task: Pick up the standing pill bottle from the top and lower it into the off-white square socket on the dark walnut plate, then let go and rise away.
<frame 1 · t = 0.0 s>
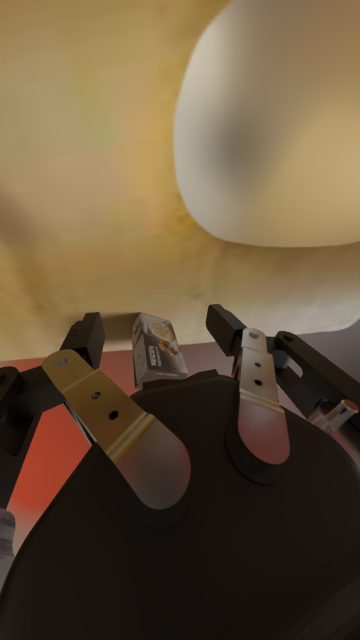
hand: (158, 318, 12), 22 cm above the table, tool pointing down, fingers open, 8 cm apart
coffee box: (151, 325, 42), on the table
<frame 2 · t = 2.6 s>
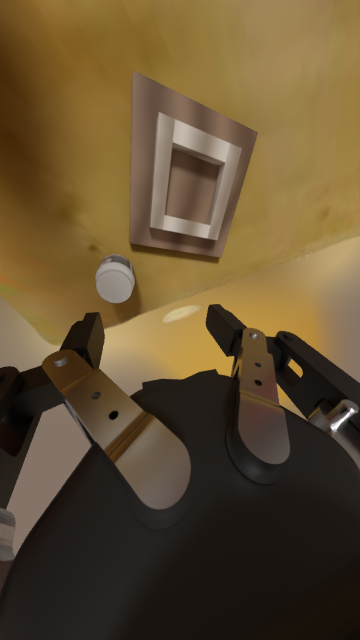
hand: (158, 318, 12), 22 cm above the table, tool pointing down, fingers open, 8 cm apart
socket block: (186, 192, 27), on the table
pill bottle: (117, 268, 30), on the table
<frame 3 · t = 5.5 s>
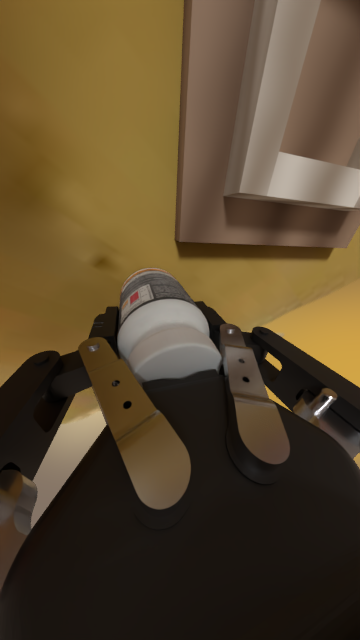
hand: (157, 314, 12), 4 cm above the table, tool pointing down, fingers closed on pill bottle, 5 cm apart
socket block: (310, 96, 11), on the table
pill bottle: (152, 295, 16), on the table, touching gripper
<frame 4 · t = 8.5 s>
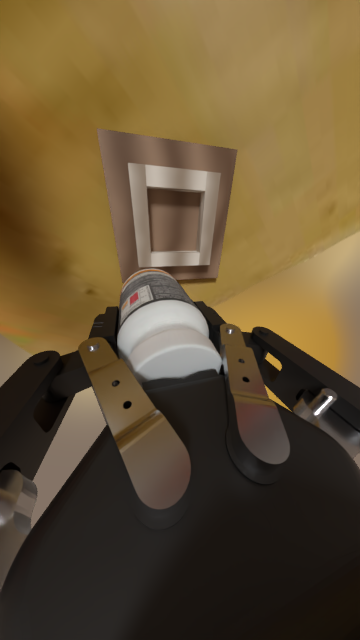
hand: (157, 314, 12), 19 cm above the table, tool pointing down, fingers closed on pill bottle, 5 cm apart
socket block: (171, 223, 26), on the table
pill bottle: (151, 296, 16), point 15 cm above the table, touching gripper
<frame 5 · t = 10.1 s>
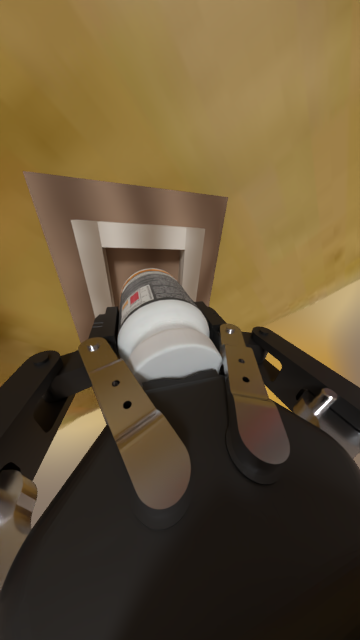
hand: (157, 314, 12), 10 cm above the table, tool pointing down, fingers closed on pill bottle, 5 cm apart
socket block: (145, 277, 21), on the table
pill bottle: (152, 295, 16), point 6 cm above the table, touching gripper
when the fingers open (6 cm above the table, at t = 11.5 s): pill bottle stays where it is, resting on socket block.
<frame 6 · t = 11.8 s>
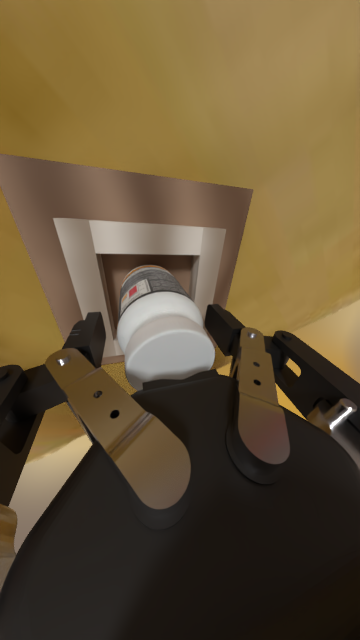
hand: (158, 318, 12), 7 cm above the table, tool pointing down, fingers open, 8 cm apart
socket block: (149, 287, 17), on the table
pill bottle: (150, 291, 16), point 1 cm above the table, touching socket block
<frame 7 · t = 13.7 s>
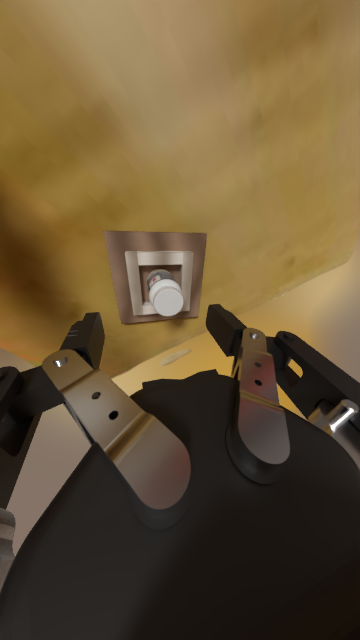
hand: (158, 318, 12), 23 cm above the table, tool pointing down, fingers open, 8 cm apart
socket block: (159, 280, 34), on the table
pill bottle: (160, 282, 33), point 1 cm above the table, touching socket block
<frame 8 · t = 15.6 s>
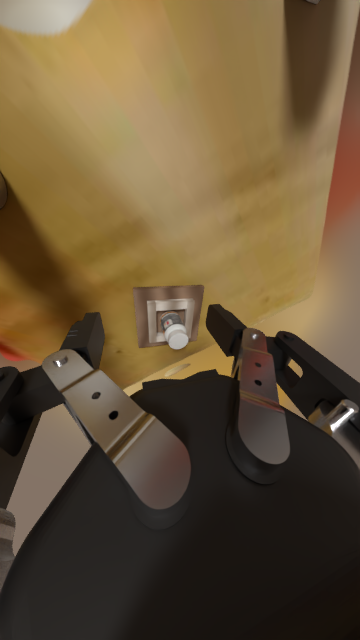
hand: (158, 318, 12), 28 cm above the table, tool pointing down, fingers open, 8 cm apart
socket block: (168, 316, 45), on the table
pill bottle: (169, 318, 44), point 1 cm above the table, touching socket block
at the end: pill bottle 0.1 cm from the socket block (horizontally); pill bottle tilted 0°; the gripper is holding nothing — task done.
